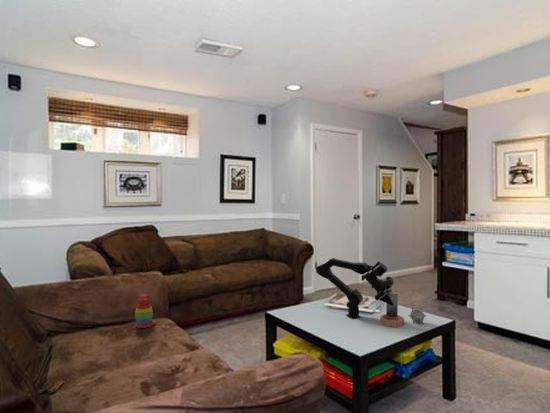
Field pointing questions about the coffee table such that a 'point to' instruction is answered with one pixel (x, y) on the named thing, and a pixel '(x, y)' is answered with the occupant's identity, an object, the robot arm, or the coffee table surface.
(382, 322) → the bowl
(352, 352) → the coffee table surface
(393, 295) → the canister
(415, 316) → the grey spiky ball
